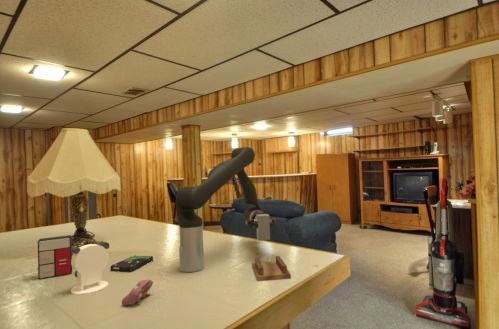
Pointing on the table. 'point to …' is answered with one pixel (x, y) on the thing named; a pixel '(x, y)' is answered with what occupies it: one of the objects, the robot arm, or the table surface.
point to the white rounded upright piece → (89, 267)
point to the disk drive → (131, 263)
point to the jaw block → (263, 226)
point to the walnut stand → (270, 270)
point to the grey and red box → (54, 256)
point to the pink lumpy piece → (137, 292)
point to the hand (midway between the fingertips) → (264, 225)
